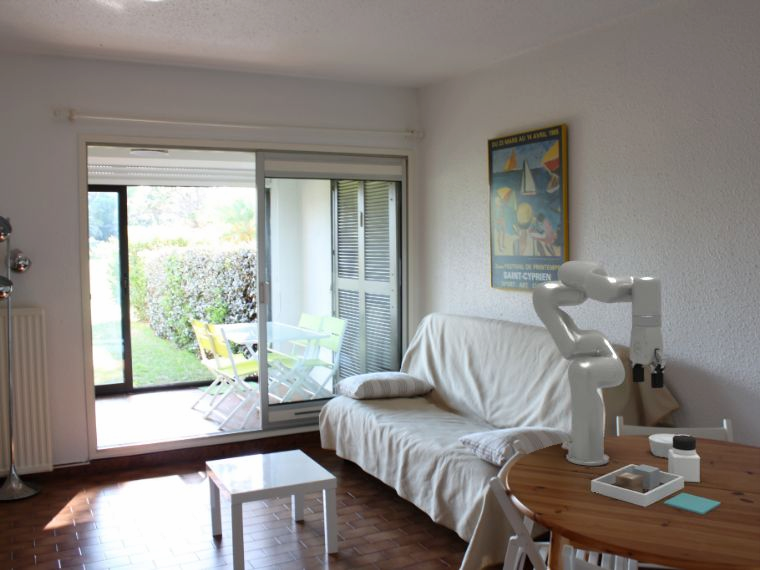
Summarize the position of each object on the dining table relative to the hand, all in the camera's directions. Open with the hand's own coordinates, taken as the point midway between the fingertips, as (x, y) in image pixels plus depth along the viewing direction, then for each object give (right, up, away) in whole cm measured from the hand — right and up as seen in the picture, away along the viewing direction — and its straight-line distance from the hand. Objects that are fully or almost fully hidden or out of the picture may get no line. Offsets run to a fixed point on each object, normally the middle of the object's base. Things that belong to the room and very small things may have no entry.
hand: (647, 384), depth 194 cm
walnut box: (-6, -29, -3) cm, 30 cm away
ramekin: (+18, -27, +31) cm, 45 cm away
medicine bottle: (+13, -28, +9) cm, 32 cm away
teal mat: (+7, -29, -11) cm, 32 cm away
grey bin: (-3, -28, 0) cm, 29 cm away
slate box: (+1, -28, +3) cm, 28 cm away
